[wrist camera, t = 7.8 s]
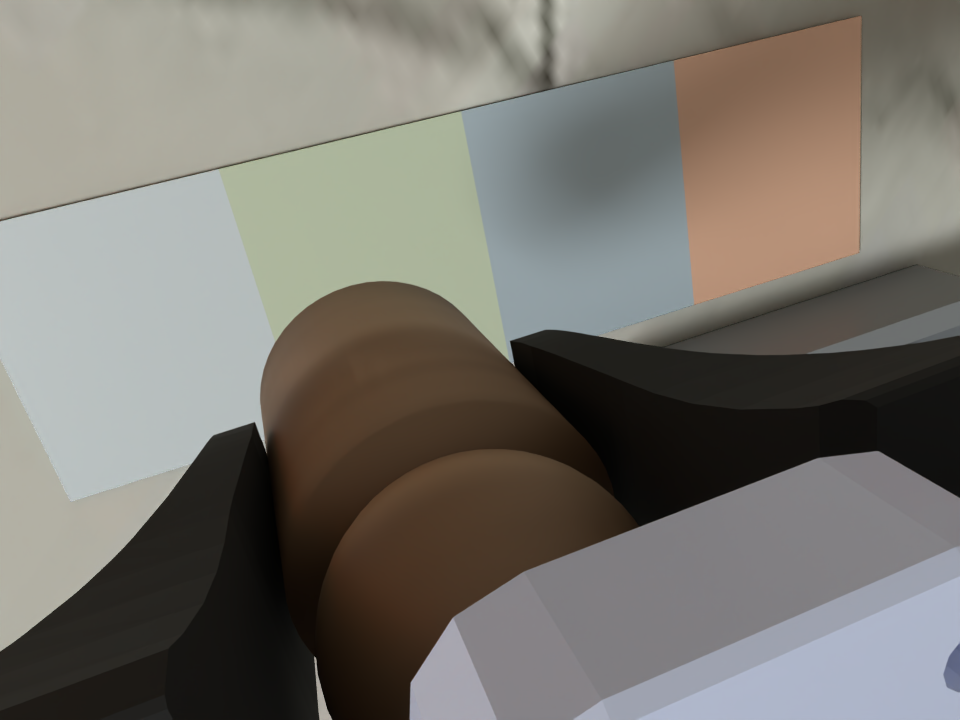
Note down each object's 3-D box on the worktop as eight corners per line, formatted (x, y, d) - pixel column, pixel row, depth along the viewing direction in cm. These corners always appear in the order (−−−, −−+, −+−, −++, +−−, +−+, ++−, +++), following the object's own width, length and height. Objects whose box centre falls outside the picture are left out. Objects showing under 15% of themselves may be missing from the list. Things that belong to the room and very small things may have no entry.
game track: (856, 252, 25) (859, 252, 24) (71, 499, 20) (70, 501, 19) (858, 16, 22) (861, 15, 22) (-59, 235, 17) (-61, 235, 17)
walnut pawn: (505, 453, 15) (778, 825, 8) (297, 523, 14) (387, 1016, 7) (465, 253, 13) (767, 488, 6) (227, 319, 12) (246, 685, 5)
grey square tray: (904, 568, 31) (969, 616, 28) (616, 690, 28) (658, 756, 25) (916, 264, 25) (998, 287, 23) (565, 379, 23) (611, 420, 20)
